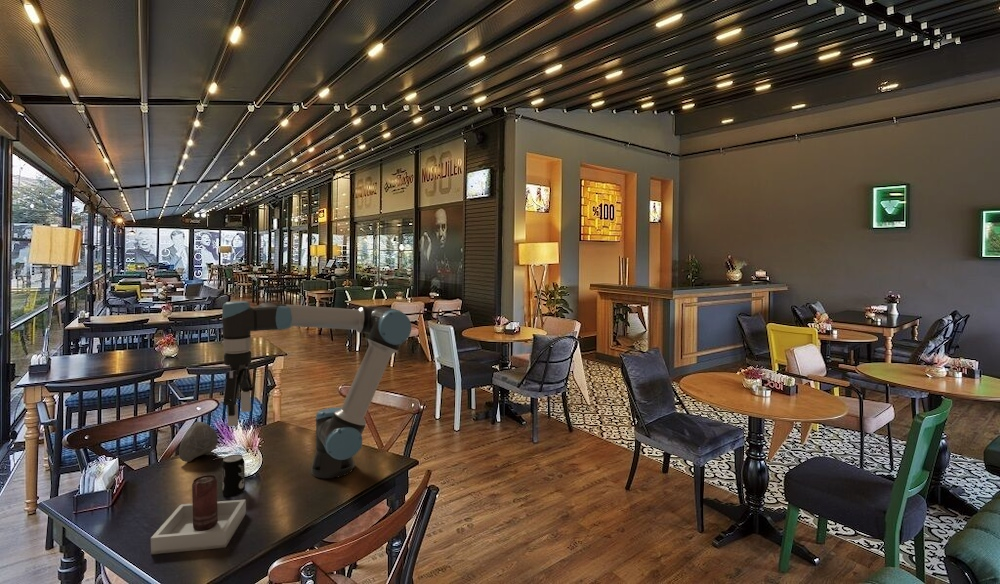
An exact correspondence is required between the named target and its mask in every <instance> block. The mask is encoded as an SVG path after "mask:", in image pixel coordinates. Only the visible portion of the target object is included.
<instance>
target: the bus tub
mask: <svg viewBox="0 0 1000 584" xmlns="http://www.w3.org/2000/svg"><path fill="white" fill-rule="evenodd" d="M217 510H218V522H217V524H216V525H215V526H214V527H213V528H211V529H209V530H205V531H196V530H195V529H194V528H193V503H182V504H179V506H177V508H176V509H175V510H174V511H173V512H172V513H171V514H170V516H169V517H168V518H167V519H166V520H165V521H164V522H163V523H162V525H160V527H159V528H158V529H157V530H156V532H154V534H153V535H152V536H151V537H150V555H159V554H160V555H161V554H169V553H170V554H171V553H180V552H181V553H182V552H190V551H192V552H193V551H202V550H203V551H205V550H211V549H212V550H215V549H223V548H224V549H226V547H227V546H228V544H229V543H230V541H231V540H232V537H233V536H234V535H235V533H236V531H237V529H238V527H239V526H240V525H241V523H242V521H243V520H244V519H245V516H246V515H247V500H246V499H236V500H235V499H233V500H232V499H231V500H222V501H218V500H217Z"/></svg>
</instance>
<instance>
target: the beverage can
mask: <svg viewBox="0 0 1000 584" xmlns="http://www.w3.org/2000/svg"><path fill="white" fill-rule="evenodd" d="M245 473H246V472H245V458H244V456H243V455H242V454H231V455H228V456H225V457H224V458H223V461H222V463H221V481H222V483H221V485H222V487H221V488H222V494H223V495H224V496H225V497H230V498H231V497H232V498H233V497H236V496H237V497H238V496H239V495H242V494H243V492H244V491H245V489H246V478H245V477H246V475H245Z"/></svg>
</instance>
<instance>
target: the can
mask: <svg viewBox="0 0 1000 584" xmlns="http://www.w3.org/2000/svg"><path fill="white" fill-rule="evenodd" d="M191 493H192V496H191V497H192V499H191V500H192V503H193V528H194V529H195V530H196V531H205V530H209V529H211V528H213V527H214V526H215V525H216V524H217V522H218V510H217V502H218V480H217V478H216V476H215V475H211V474H210V475H209V474H207V475H202V476H198V477H196V478H195V479H194V480H193V482H192V484H191ZM192 503H191V504H192Z"/></svg>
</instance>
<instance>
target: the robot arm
mask: <svg viewBox="0 0 1000 584" xmlns="http://www.w3.org/2000/svg"><path fill="white" fill-rule="evenodd" d="M221 309H222V315H221V318H222V319H221V320H222V338H223V340H222V341H221V344H222V345H223V351H224V353H223V364H224V365H225V366H228V367H230V370H229V371H228V370H227V372H226V383H225V390H224V391H225V392H224V400H223V403H222V404H223V406H226V416H227V417H226V418H227V419H226V421H227V427H234V426H235V427H236V426H239V407H238V406H239V404H238V402H237V401H238V396H239V391H240V389H241V391H240V408H241V409H240V410H241V411H240V412H241V413H243V412H244V413H245V412H246V413H248V412H251V411H252V402H251V401H252V400H251V398H252V397H251V391H254V387H253V383H252V381H253V380H252V377H251V372H250V368H249V367H250V366H249V364H251V363H252V351H251V349H252V341H251V340H252V339H251V338H252V337H251V332H258V331H276V330H277V331H282V330H287V329H290V328H292V327H299V328H318V329H320V328H321V329H335V330H338V329H339V330H354V331H356V332H357V333H360V334H361V333H362V334H368V336H367V343H368V346H367V349H366V352H365V354H364V356H363V359H362V360H361V363H360V365H359V367H358V369H357V371H356V373H355V376H354V378H353V381H352V382H351V385H350V388H349V389H348V391H347V394H346V396H345V399H344V401H343V404H342V406H339V407H330V408H323V409H321V410H318V411H317V412H316V414H315V440H316V441H315V443H316V448H315V449H316V450H315V455H314V458H313V461H312V463H311V471H310V472H311V475H312V476H313V477H315V478H318V479H335V478H334V477H337V478H339V477H338V476H341V475H344V474H347V473H349V472H350V471H351V470H352V469H353V468H354V469H355V460H354V456H356V455H357V454H358V452H359V451H360V450H361V448H362V445H363V436H362V434H363V432H364V430H365V428H366V425H367V423H366V419H365V416H366V414H367V413H368V409H369V407H370V405H371V402H372V400H373V398H374V396H375V394H376V391H377V389H378V388H379V384H380V383H381V380H382V378H383V375H384V373H385V371H386V368H387V366H388V363H389V361H390V360H391V357H392V355H393V354H395V353H397V352H398V351H399V349H400V347H401V345H402V344H403V343H404V342H406V341H407V340H408V339H409V337H410V336H411V334H412V333H411V332H412V322H411V320H410V318H409V317H408V315H407V314H405V313H404V312H403V311H401V310H399V309H395V308H391V307H388V306H387V307H386V306H375V307H372V306H371V307H366V306H365V307H364V306H360V307H359V308H358V309H355V308H341V307H326V306H315V305H314V306H312V305H311V306H310V305H298V304H284V303H283V304H281V303H273V302H270V301H269V302H268V301H267V302H262V303H261V304H259V305H257V307H253V306H251V305H250V302H249V301H246V300H237V301H236V300H234V301H233V300H232V301H226V302H224V303H223V305H222V308H221ZM239 388H240V389H239ZM350 473H351V472H350ZM350 473H349V474H350ZM347 475H348V474H347ZM344 476H345V475H344ZM341 477H342V476H341Z"/></svg>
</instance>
